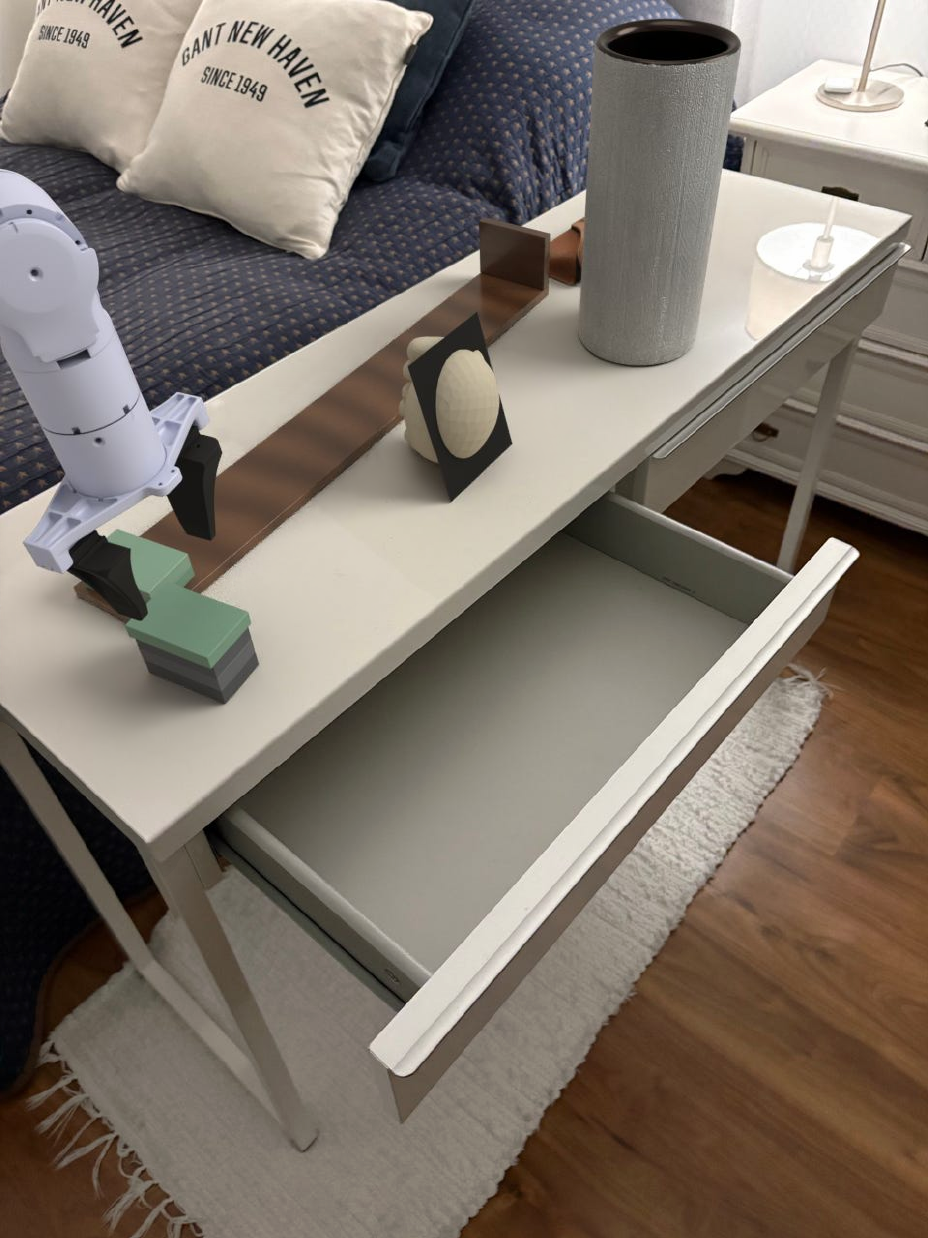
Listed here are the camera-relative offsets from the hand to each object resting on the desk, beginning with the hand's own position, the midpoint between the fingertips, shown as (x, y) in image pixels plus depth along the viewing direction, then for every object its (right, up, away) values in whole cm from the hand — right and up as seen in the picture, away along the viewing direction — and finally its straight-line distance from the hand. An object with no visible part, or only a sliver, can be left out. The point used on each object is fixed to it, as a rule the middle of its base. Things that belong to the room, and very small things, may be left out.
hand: (168, 572), depth 64 cm
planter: (+38, +27, +38) cm, 60 cm away
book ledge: (+9, +16, +29) cm, 34 cm away
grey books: (0, -7, +8) cm, 10 cm away
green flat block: (-6, 0, +13) cm, 14 cm away
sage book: (0, -4, +5) cm, 6 cm away
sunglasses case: (+35, +41, +52) cm, 75 cm away
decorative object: (+18, +11, +24) cm, 32 cm away
